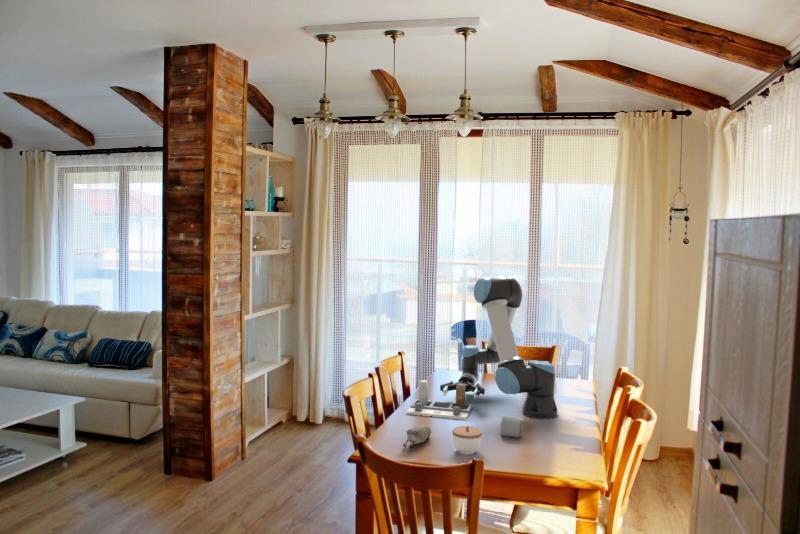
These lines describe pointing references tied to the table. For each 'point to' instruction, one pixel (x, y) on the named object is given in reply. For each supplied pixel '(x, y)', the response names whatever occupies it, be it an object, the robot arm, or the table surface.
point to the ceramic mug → (511, 427)
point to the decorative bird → (418, 435)
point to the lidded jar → (467, 439)
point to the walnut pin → (460, 395)
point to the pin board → (431, 404)
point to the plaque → (438, 412)
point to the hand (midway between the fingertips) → (459, 394)
